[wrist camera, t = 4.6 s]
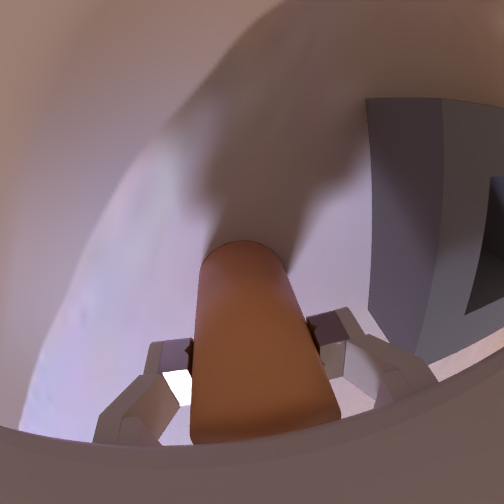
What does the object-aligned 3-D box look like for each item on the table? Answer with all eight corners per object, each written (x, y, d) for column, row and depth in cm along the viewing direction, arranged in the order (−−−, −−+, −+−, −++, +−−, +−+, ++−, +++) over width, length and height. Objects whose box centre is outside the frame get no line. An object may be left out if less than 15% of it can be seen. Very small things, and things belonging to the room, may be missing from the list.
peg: (279, 233, 13) (347, 373, 6) (288, 305, 15) (336, 447, 8) (189, 250, 13) (166, 404, 6) (209, 320, 15) (212, 468, 7)
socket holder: (508, 112, 11) (569, 127, 6) (492, 269, 16) (536, 306, 11) (365, 99, 11) (441, 98, 6) (367, 309, 16) (408, 372, 11)
